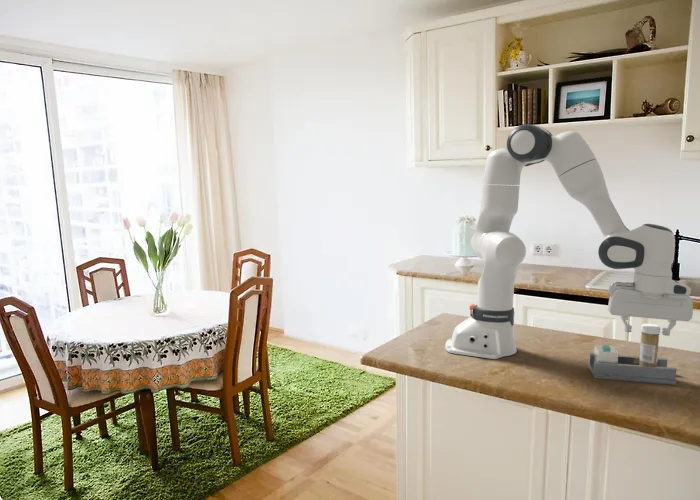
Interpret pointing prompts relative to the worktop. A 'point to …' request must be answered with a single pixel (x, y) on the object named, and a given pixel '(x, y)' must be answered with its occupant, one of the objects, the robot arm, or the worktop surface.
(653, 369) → the rail
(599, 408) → the worktop surface
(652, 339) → the sprinkles bottle
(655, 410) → the worktop surface
